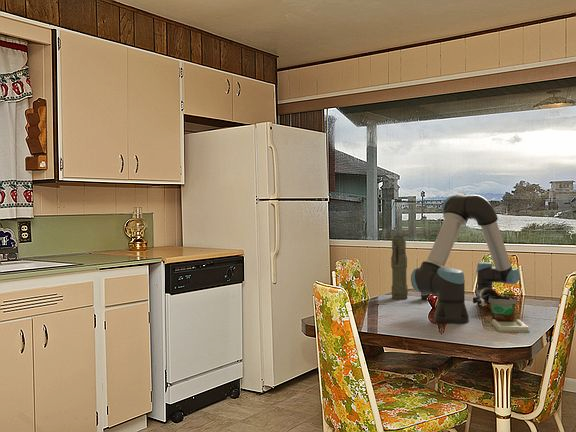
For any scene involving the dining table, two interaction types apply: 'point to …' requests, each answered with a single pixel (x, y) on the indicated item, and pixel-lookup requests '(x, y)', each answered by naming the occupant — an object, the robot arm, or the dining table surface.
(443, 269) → the robot arm
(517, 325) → the cream rectangular tray
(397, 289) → the olive brown statue
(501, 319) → the food container
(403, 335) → the dining table surface
